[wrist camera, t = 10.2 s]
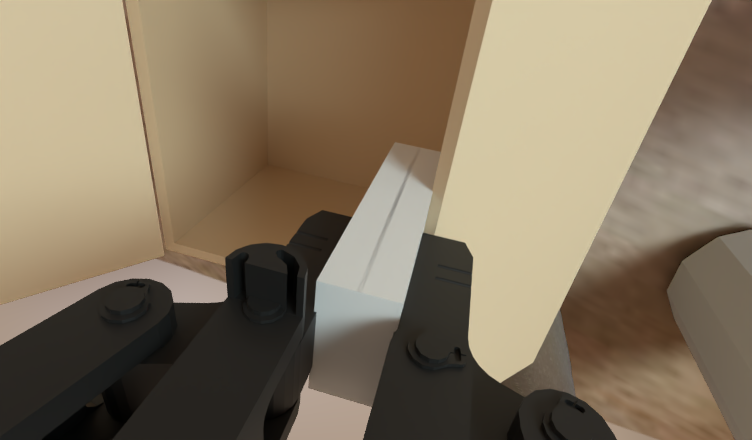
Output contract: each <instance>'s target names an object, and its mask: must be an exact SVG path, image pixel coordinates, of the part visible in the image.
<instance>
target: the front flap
mask: <svg viewBox="0 0 752 440" xmlns="http://www.w3.org/2000/svg"><path fill="white" fill-rule="evenodd" d="M711 1H712V0H476V1H475V5H474V10H473V14H472V19H471V23H470V27H469V32H468V36H467V40H466V45H465V49H464V53H463V58H462V62H461V67H460V71H459V75H458V80H457V84H456V88H455V93H454V97H453V101H452V106H451V110H450V114H449V119H448V123H447V128H446V132H445V136H444V141H443V145H442V149H441V154H440V158H439V162H438V167H437V171H436V176H435V180H434V184H433V189H432V191H433V193H432V198H431V202H430V206H429V211H428V215H427V219H426V224H425V228H424V232H423V233H427V234H431V235H435V236H439V237H444V238H448V239H452V240H456V241H460V242H464V243H466V245H467V247H468V249H469V251H470V252H471V254H472V256H473V270H472V285H471V301H470V316H469V332H468V341H469V348H470V350H471V353H472V355H473V357H474V359H475V360H476V362H477V363H478V364H479V366H480V367H481V368H482V369H483V370H484V371H485V372H486V373H487V374H488V375H489V376H491V377H492V378H494V379H495V380H497V381H498V382H499V383H501V382H503V381H504V380H506V379H507V378H509V377H511V376H512V375H514V374H516V373H517V372H519V371H520V370H522V369H524V368H525V367H527V366H528V365H530V364H532V363H533V362H534V360H535V358H536V356H537V354H538V352H539V350H540V348H541V346H542V344H543V342H544V340H545V337H546V335H547V333H548V331H549V329H550V327H551V325H552V323H553V321H554V319H555V317H556V315H557V313H558V311H559V309H560V307H561V305H562V303H563V301H564V299H565V297H566V295H567V293H568V291H569V289H570V287H571V285H572V283H573V281H574V279H575V277H576V275H577V273H578V271H579V269H580V266H581V264H582V262H583V260H584V258H585V256H586V254H587V252H588V250H589V248H590V246H591V244H592V242H593V240H594V238H595V236H596V234H597V232H598V230H599V228H600V226H601V224H602V222H603V220H604V218H605V216H606V214H607V212H608V210H609V208H610V206H611V204H612V202H613V200H614V198H615V196H616V193H617V191H618V189H619V187H620V185H621V183H622V181H623V179H624V177H625V175H626V173H627V171H628V169H629V167H630V165H631V163H632V161H633V159H634V157H635V155H636V153H637V151H638V149H639V147H640V145H641V143H642V141H643V139H644V137H645V135H646V133H647V131H648V129H649V127H650V125H651V123H652V120H653V118H654V116H655V114H656V112H657V110H658V108H659V106H660V104H661V102H662V100H663V98H664V96H665V94H666V92H667V90H668V88H669V86H670V84H671V82H672V80H673V78H674V76H675V74H676V72H677V70H678V68H679V66H680V64H681V62H682V60H683V58H684V56H685V54H686V52H687V49H688V47H689V45H690V43H691V41H692V39H693V37H694V35H695V33H696V31H697V29H698V27H699V25H700V23H701V21H702V19H703V17H704V15H705V13H706V11H707V9H708V7H709V5H710V3H711Z"/></svg>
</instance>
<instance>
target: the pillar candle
mask: <svg viewBox="0 0 752 440" xmlns="http://www.w3.org/2000/svg"><path fill="white" fill-rule="evenodd" d="M501 384H503V385H504V386H506V387H508V388H510V389H511V390H513V391H515V392H517V393H518V394H520V395H522V396H524V397H526V396H528V395H529V394H530V393H532V392H533V391H535V390H543V389H554V390H558V391H562V392H566V393H569V394H571V395H573V396H575V389H574V384H573V378H572V371H571V363H570V357H569V351H568V346H567V341H566V337H565V332H564V327H563V321H562V316H561V312H560V309H559V311H558V313H557V315H556V317H555V319H554V321H553V323H552V325H551V327H550V329H549V331H548V333H547V335H546V337H545V340H544V342H543V344H542V346H541V348H540V350H539V352H538V354H537V356H536V358H535V360H534V362H533V363H532V364H530V365H528V366H527V367H525V368H524V369H522V370H520V371H519V372H517V373H516V374H514V375H512V376H511V377H509V378H507V379H506V380H504V381H503V382H501ZM575 397H576V396H575Z"/></svg>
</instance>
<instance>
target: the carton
mask: <svg viewBox="0 0 752 440" xmlns="http://www.w3.org/2000/svg"><path fill="white" fill-rule="evenodd" d="M475 1H476V0H125V2H126V8H127V14H128V21H129V27H130V33H131V39H132V45H133V51H134V57H135V64H136V70H137V76H138V82H139V88H140V94H141V101H142V107H143V113H144V119H145V125H146V131H147V137H148V144H149V150H150V156H151V162H152V168H153V174H154V181H155V187H156V193H157V199H158V205H159V211H160V217H161V224H162V230H163V236H164V242H165V248H166V250H170V251H174V252H177V253H181V254H185V255H188V256H192V257H195V258H199V259H203V260H206V261H210V262H213V263H217V264H221V265H224V266H226V265H225V257H227V256H228V255H229V254H231V253H232V252H233V251H235V250H236V249H239V248H242V247H245V246H248V245H250V244H260V243H272V244H280V245H284V246H286V245H287V244H289V241H290V240H291V238H292V237H293V236H294V234H295V233H297V230H298V229H299V228H300V226H301V225H302V224H303V222H304V221H305V220H306V218H308V217H310V216H312V215H314V214H316V213H318V212H320V211H321V210H325V211H329V212H333V213H337V214H341V215H345V216H350V217H353V215H354V213H355V212H356V210H357V208H358V206H359V205H360V203H361V201H362V199H363V198H364V196H365V194H366V192H367V190H368V189H369V187H370V185H371V183H372V182H373V180H374V178H375V176H376V175H377V173H378V171H379V169H380V168H381V166H382V164H383V162H384V160H385V159H386V157H387V155H388V153H389V152H390V150H391V148H392V146H393V145H394V143H395V142H397V143H402V144H406V145H411V146H416V147H420V148H425V149H430V150H434V151H439V152H441V149H442V145H443V141H444V136H445V132H446V128H447V123H448V119H449V114H450V110H451V106H452V101H453V97H454V93H455V88H456V84H457V80H458V75H459V71H460V67H461V62H462V58H463V53H464V49H465V45H466V40H467V36H468V32H469V27H470V23H471V19H472V14H473V10H474V5H475Z"/></svg>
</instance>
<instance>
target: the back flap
mask: <svg viewBox="0 0 752 440" xmlns="http://www.w3.org/2000/svg"><path fill="white" fill-rule="evenodd" d="M162 256H165V255H164V249H163V243H162V237H161V231H160V225H159V219H158V213H157V207H156V201H155V195H154V189H153V183H152V177H151V171H150V165H149V159H148V153H147V147H146V141H145V135H144V129H143V123H142V117H141V111H140V105H139V99H138V92H137V86H136V80H135V74H134V68H133V62H132V56H131V50H130V44H129V38H128V32H127V26H126V20H125V14H124V8H123V2H122V0H0V305H2V304H5V303H8V302H11V301H14V300H18V299H22V298H25V297H28V296H32V295H35V294H38V293H42V292H45V291H48V290H52V289H55V288H58V287H62V286H65V285H68V284H72V283H75V282H78V281H82V280H85V279H88V278H92V277H95V276H99V275H102V274H105V273H108V272H112V271H115V270H119V269H122V268H125V267H128V266H132V265H135V264H139V263H142V262H145V261H149V260H152V259H155V258H159V257H162Z"/></svg>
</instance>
